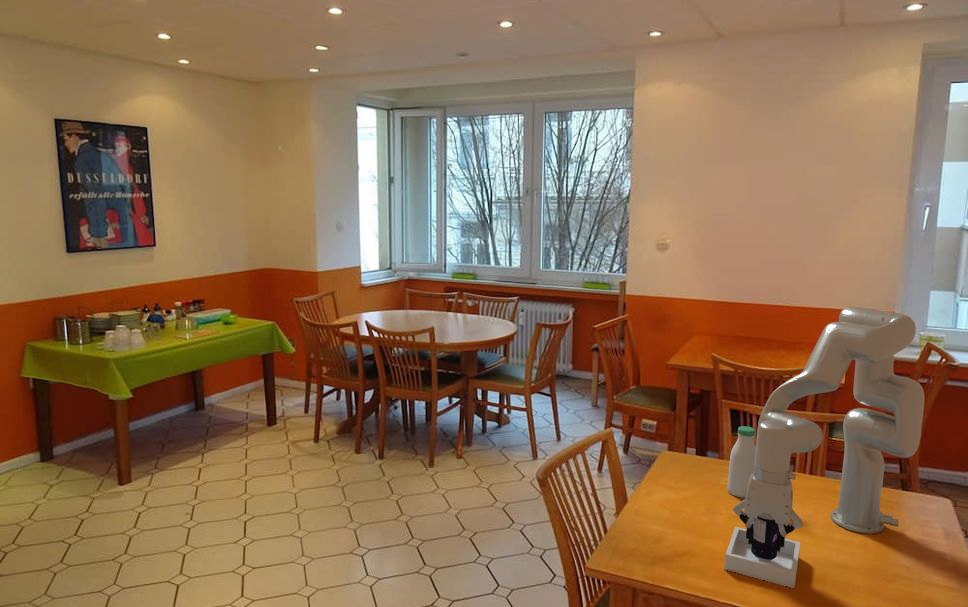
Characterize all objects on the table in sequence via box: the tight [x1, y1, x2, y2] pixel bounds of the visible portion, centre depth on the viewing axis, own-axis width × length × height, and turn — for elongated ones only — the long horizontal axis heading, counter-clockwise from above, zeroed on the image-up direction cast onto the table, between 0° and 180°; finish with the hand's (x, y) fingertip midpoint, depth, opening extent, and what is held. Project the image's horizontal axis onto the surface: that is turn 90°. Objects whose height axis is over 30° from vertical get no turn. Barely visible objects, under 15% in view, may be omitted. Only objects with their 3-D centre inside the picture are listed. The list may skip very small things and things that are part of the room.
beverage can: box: [751, 513, 780, 561], centre depth 158 cm, size 6×6×12 cm
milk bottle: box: [727, 425, 756, 499], centre depth 195 cm, size 8×8×20 cm
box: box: [724, 526, 801, 589], centre depth 159 cm, size 15×15×4 cm
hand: (764, 544), depth 158 cm, fingers closed on beverage can, 5 cm apart
